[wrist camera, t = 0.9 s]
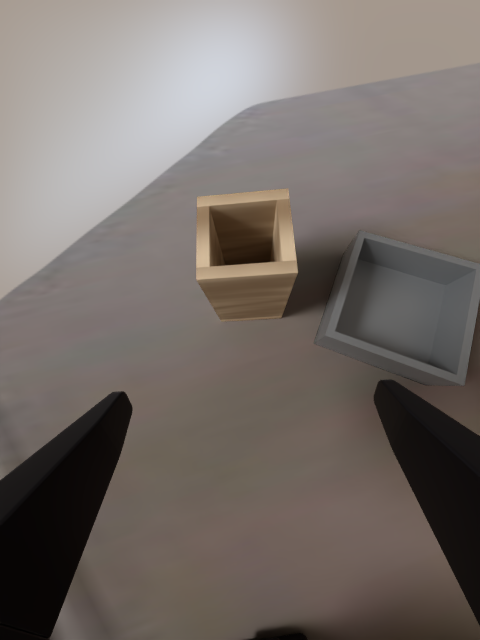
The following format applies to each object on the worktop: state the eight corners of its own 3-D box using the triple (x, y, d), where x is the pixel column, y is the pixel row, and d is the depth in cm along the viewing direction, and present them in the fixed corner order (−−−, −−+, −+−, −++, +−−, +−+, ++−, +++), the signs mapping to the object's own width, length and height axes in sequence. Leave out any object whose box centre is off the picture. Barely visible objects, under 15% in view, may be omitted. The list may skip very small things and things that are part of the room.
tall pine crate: (281, 318, 23) (297, 272, 13) (221, 321, 23) (196, 279, 14) (276, 264, 25) (288, 188, 15) (220, 268, 25) (197, 196, 15)
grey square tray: (425, 385, 21) (464, 385, 17) (313, 343, 22) (325, 335, 18) (446, 285, 23) (485, 265, 19) (343, 254, 24) (359, 230, 21)
